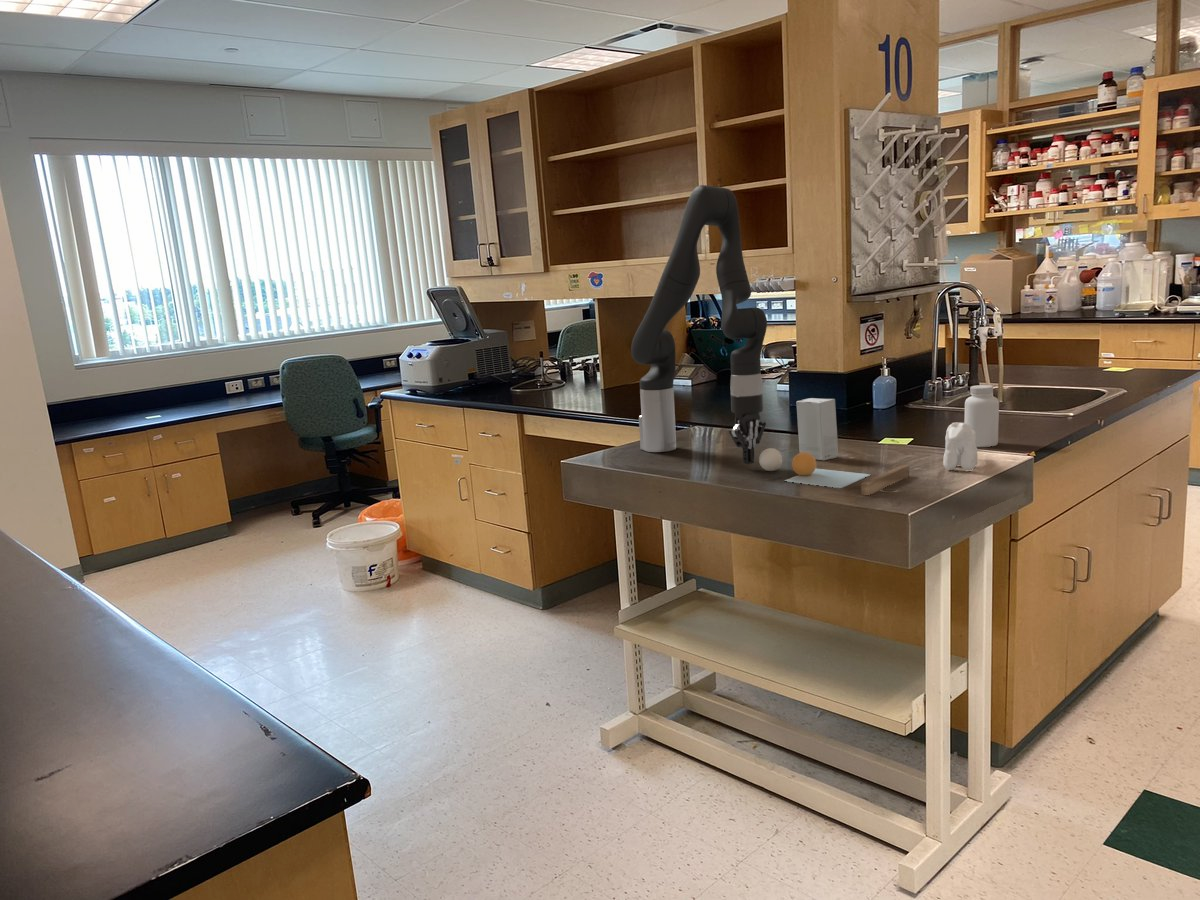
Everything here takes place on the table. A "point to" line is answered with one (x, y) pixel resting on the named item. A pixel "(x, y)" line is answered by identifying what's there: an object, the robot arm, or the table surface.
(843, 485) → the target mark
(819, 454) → the skincare box
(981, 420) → the pill bottle
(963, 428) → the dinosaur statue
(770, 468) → the cue ball
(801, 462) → the object ball
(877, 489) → the stopper bar
